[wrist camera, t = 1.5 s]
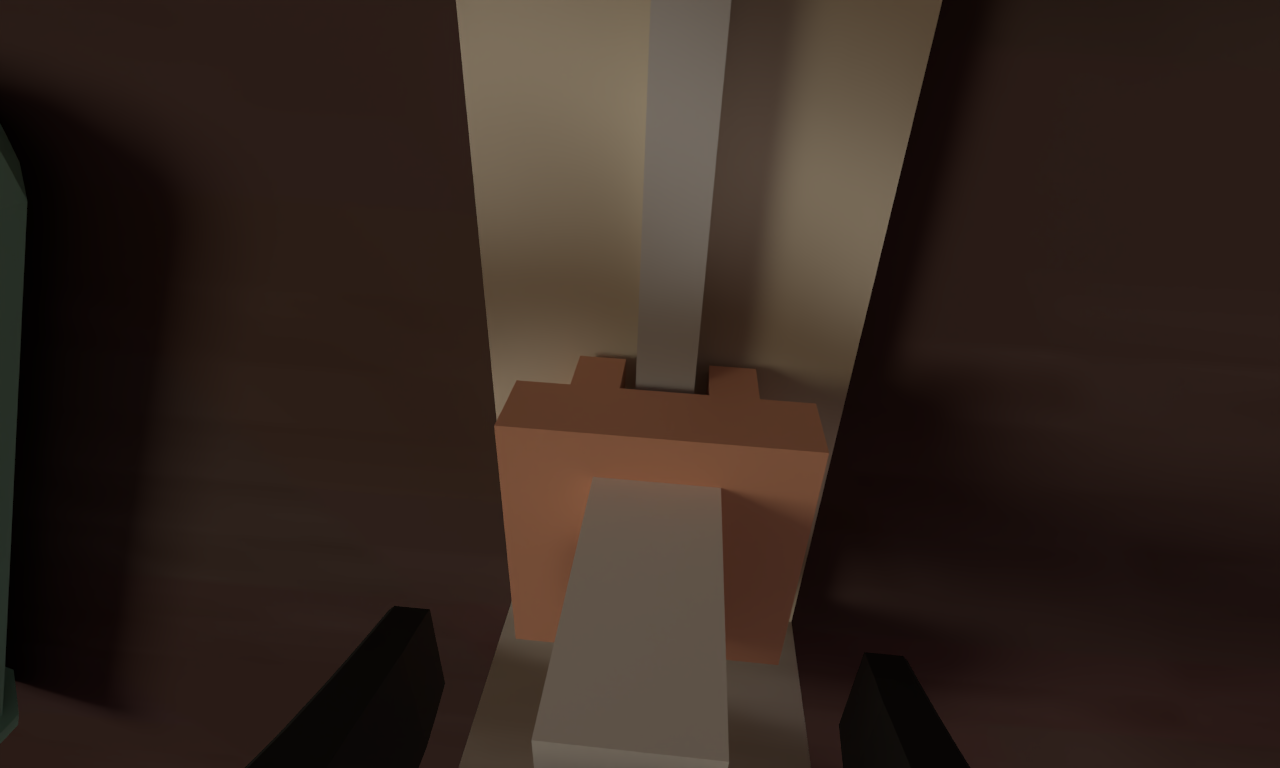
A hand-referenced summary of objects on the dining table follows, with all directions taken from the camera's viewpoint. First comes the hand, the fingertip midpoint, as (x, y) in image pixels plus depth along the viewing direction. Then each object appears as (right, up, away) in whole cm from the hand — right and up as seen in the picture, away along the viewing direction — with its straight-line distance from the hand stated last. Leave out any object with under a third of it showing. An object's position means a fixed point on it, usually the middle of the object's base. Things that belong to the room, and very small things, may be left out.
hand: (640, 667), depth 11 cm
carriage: (0, +3, +5) cm, 5 cm away
